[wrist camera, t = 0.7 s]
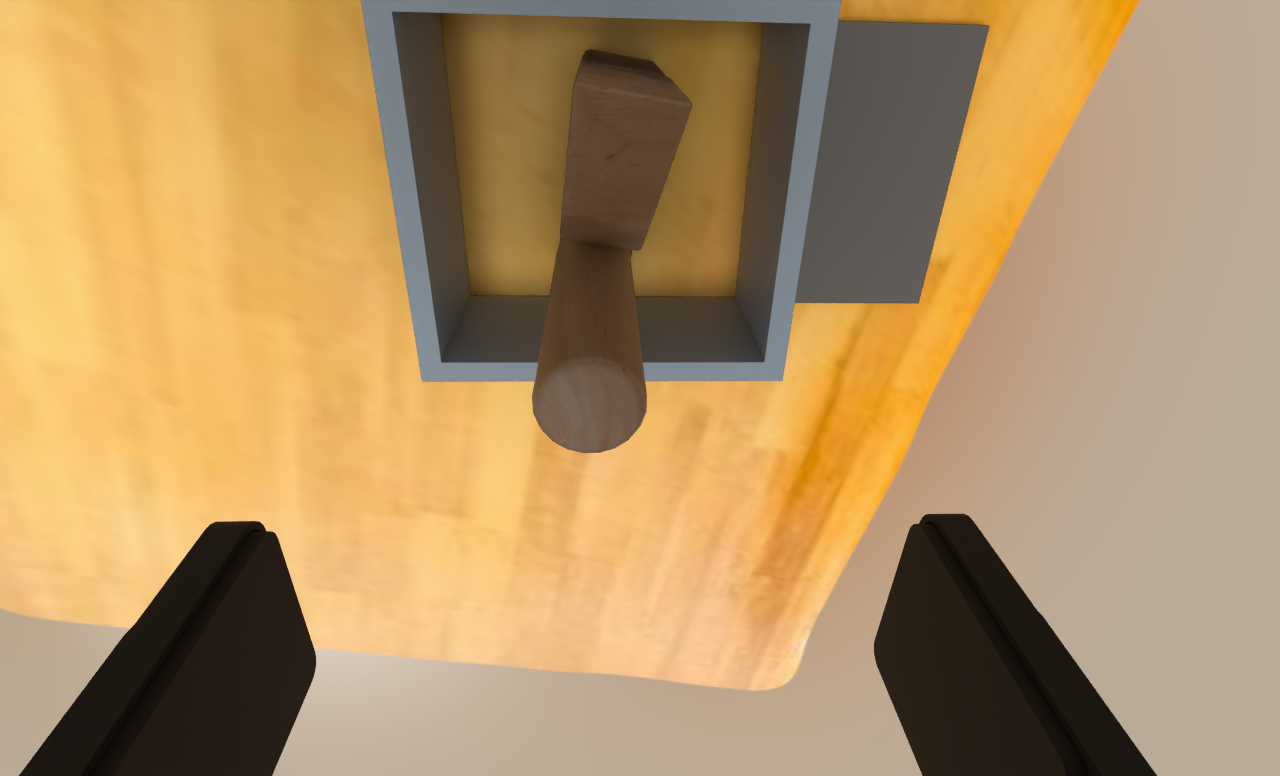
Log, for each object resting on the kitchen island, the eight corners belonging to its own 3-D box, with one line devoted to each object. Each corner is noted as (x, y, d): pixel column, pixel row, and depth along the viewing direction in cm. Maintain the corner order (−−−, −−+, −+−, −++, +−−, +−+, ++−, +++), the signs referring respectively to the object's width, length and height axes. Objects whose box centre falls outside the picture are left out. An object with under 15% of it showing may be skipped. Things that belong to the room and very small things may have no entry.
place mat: (816, 20, 31) (821, 20, 31) (981, 24, 32) (989, 25, 31) (777, 297, 38) (781, 302, 38) (912, 297, 39) (918, 303, 38)
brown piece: (658, 61, 32) (713, 120, 16) (622, 272, 37) (639, 468, 22) (582, 47, 31) (564, 92, 16) (557, 262, 37) (525, 455, 21)
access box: (413, -18, 30) (357, -24, 23) (788, -6, 31) (842, -8, 24) (454, 312, 38) (422, 381, 31) (750, 313, 39) (782, 380, 32)
